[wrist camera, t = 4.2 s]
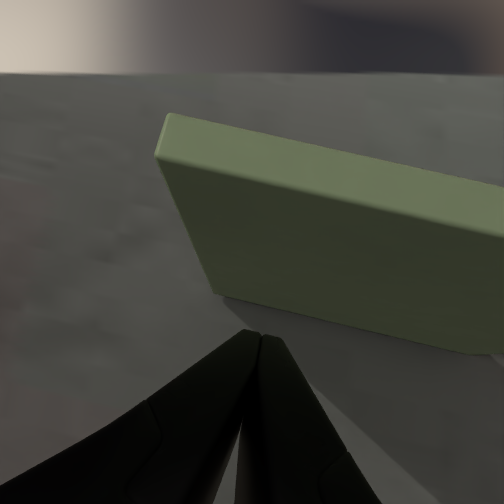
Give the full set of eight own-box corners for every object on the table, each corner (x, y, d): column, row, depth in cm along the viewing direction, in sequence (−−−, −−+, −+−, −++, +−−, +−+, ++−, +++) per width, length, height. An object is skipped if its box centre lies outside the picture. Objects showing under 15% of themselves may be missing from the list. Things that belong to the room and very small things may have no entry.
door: (473, 336, 19) (917, 277, 6) (471, 355, 19) (924, 332, 6) (217, 275, 20) (166, 109, 7) (212, 293, 19) (151, 156, 7)
